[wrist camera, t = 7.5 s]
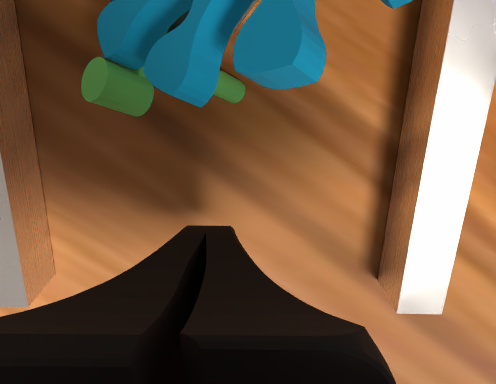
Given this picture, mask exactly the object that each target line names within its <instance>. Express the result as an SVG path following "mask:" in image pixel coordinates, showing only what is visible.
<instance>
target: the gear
mask: <svg viewBox="0 0 496 384" xmlns="http://www.w3.org/2000/svg"><path fill="white" fill-rule="evenodd" d="M110 1H112V2H110V3H109V4H108V5H107V6H106V7H105V8H104V9H103V11H102V12H101V14H100V16H99V18H98V20H97V32H98V39H99V43H100V46H101V49H102V52H103V55H104V57H105V58H107V59H109V60H111V61H109V60H107V59H105V58H102V57H96V58H94V59H92V60H91V61H90V62H89V64H88V65H87V67H86V69H85V71H84V73H83V77H82V81H81V92H82V96H83V98H84V99H85V100H86V101H88V102H92V103H95V104H98V105H101V106H104V107H107V108H110V109H113V110H116V111H119V112H123V113H126V114H129V115H132V116H136V117H138V116H141V115H143V114H144V113H145V112H146V111H147V110H148V109H149V107H150V105H151V103H152V100H153V96H154V87H156V88H158V89H159V90H161V91H163V92H165V93H167V94H169V95H171V96H173V97H176V98H178V99H181V100H183V101H186V102H188V103H190V104H193V105H195V106H198V107H200V108H201V107H203V106H204V105H205V104H206V103H207V102H208V101H209V99H210V98H211V97H212V95H215V96H217V97H219V98H221V99H224V100H226V101H228V102H230V103H233V104H235V103H238V102H239V101H241V100H242V98H243V97H244V94H245V85H244V83H243V82H242V81H240V80H238V79H236V78H234V77H232V76H231V75H229V74H227V73H225V72H223V71H221V70H220V65H221V61H222V57H223V53H224V51H225V48H226V45H227V43H228V40H229V38H230V36H231V35H232V33H233V32H234V31H235V29H236V28H237V27H238V25H239V24H240V23H241V21H242V20H243V19H244V18H245V16H246V15H247V14H248V12H249V11H250V10H251V8H252V7H253V6H254V4H255V3H256V2H257V0H110ZM381 1H382V2H383V3H384V4H385V5H387V6H389V7H391V8H393V9H395V8H397V7H399V6H402V5H404V4H406V3H409V2H411V1H412V0H381ZM112 61H114V62H116V63H118V64H116V63H114V62H112ZM325 63H326V48H325V43H324V41H323V39H322V37H321V34H320V32H319V29H318V25H317V21H316V15H315V0H262V1H261V3H260V4H259V5H258V7H257V8H256V9H255V11H254V12H253V13H252V15H251V16H250V17H249V18H248V20H247V21H246V22H245V24H244V25H243V27H242V28H241V30H240V32H239V34H238V36H237V38H236V42H235V45H234V51H233V64H234V68H235V71H237V72H238V73H240V74H242V75H244V76H245V77H247V78H249V79H251V80H252V81H254V82H256V83H258V84H259V85H261V86H263V87H266V88H270V89H290V88H296V87H301V86H305V85H308V84H312V83H316V82H318V80H319V78H320V76H321V75H322V73H323V70H324V66H325ZM119 64H121V65H123V66H125V67H123V66H121V65H119ZM126 67H128V68H129V69H128V68H126Z"/></svg>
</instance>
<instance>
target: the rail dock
mask: <svg viewBox="0 0 496 384" xmlns="http://www.w3.org/2000/svg"><path fill="white" fill-rule="evenodd" d="M495 78H496V0H422V5H421V11H420V17H419V23H418V30H417V36H416V42H415V49H414V55H413V61H412V68H411V74H410V80H409V86H408V93H407V99H406V105H405V112H404V118H403V124H402V130H401V137H400V143H399V149H398V156H397V162H396V168H395V175H394V181H393V187H392V193H391V200H390V206H389V212H388V219H387V225H386V231H385V238H384V244H383V250H382V256H381V263H380V269H379V275H378V282H379V284H380V285H381V287H382V289H383V290H384V292H385V294H386V296H387V297H388V299H389V301H390V303H391V304H392V306H393V308H394V309H395V311H396V313H402V314H442V311H443V307H444V302H445V298H446V293H447V289H448V285H449V280H450V276H451V271H452V267H453V263H454V258H455V254H456V250H457V245H458V241H459V236H460V232H461V228H462V223H463V219H464V214H465V210H466V206H467V201H468V197H469V192H470V188H471V184H472V179H473V175H474V170H475V166H476V162H477V157H478V153H479V148H480V144H481V140H482V135H483V131H484V127H485V122H486V118H487V113H488V109H489V105H490V100H491V96H492V91H493V87H494V83H495ZM54 275H55V269H54V263H53V256H52V249H51V243H50V236H49V229H48V223H47V216H46V209H45V203H44V196H43V189H42V183H41V176H40V169H39V163H38V156H37V149H36V142H35V136H34V129H33V122H32V116H31V109H30V102H29V96H28V89H27V82H26V76H25V69H24V62H23V56H22V49H21V42H20V36H19V29H18V22H17V16H16V9H15V2H14V0H0V307H29V306H30V305H31V303H32V302H33V301H34V300H35V298H36V297H37V296H38V295H39V294H40V292H41V291H42V290H43V289H44V288H45V286H46V285H47V284H48V283H49V281H50V280H51V279H52V278H53V277H54Z"/></svg>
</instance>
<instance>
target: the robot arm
mask: <svg viewBox="0 0 496 384" xmlns="http://www.w3.org/2000/svg"><path fill="white" fill-rule="evenodd" d="M0 384H396V382H395V380H394V378H393V375H392V373H391V371H390V369H389V367H388V365H387V363H386V361H385V359H384V357H383V356H382V354H381V352H380V351H379V349H378V347H377V346H376V344H375V343H374V341H373V340H372V338H371V337H370V335H369V334H368V332H367V330H366V329H365V327H363V326H360V325H358V324H355V323H352V322H349V321H346V320H343V319H341V318H338V317H335V316H332V315H330V314H327V313H325V312H323V311H321V310H319V309H317V308H314V307H312V306H310V305H308V304H306V303H305V302H303V301H301V300H299V299H298V298H296V297H294V296H293V295H291V294H290V293H288V292H287V291H285V290H284V289H282V288H281V287H279V286H278V285H277V284H276V283H274V282H273V281H272V280H271V279H270V278H268V277H267V276H266V275H265V274H264V273H263V272H262V271H261V270H260V269H259V267H258V266H257V265H256V264H255V263H254V262H253V260H252V259H251V258H250V257H249V255H248V254H247V252H246V251H245V250H244V248H243V247H242V245H241V243H240V242H239V240H238V238H237V236H236V234H235V230H234V229H233V228H232V227H231V226H186V227H185V228H184V229H182V230H181V231H180V232H179V233H178V234H176V235H175V236H174V237H173V238H172V239H171V240H169V241H168V242H167V243H166V244H164V245H163V246H162V247H161V248H159V249H158V250H157V251H155V252H154V253H152V254H151V255H150V256H148V257H147V258H145V259H144V260H142V261H141V262H140V263H138V264H137V265H135V266H134V267H132V268H130V269H129V270H127V271H125V272H123V273H122V274H120V275H118V276H116V277H114V278H112V279H110V280H108V281H106V282H104V283H102V284H100V285H97V286H95V287H93V288H90V289H88V290H86V291H83V292H81V293H78V294H76V295H74V296H71V297H68V298H65V299H62V300H60V301H57V302H54V303H51V304H47V305H44V306H41V307H37V308H34V309H31V310H27V311H23V312H19V313H15V314H11V315H6V316H2V317H0Z"/></svg>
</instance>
